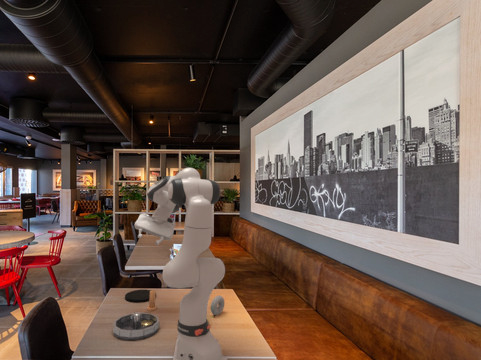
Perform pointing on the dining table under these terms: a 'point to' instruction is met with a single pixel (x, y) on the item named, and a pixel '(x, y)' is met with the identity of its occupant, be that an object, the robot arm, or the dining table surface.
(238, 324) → the dining table surface
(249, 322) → the dining table surface
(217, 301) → the donut
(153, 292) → the peg on round base
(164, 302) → the dining table surface
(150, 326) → the bowl
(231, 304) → the dining table surface
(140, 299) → the wireless charger
